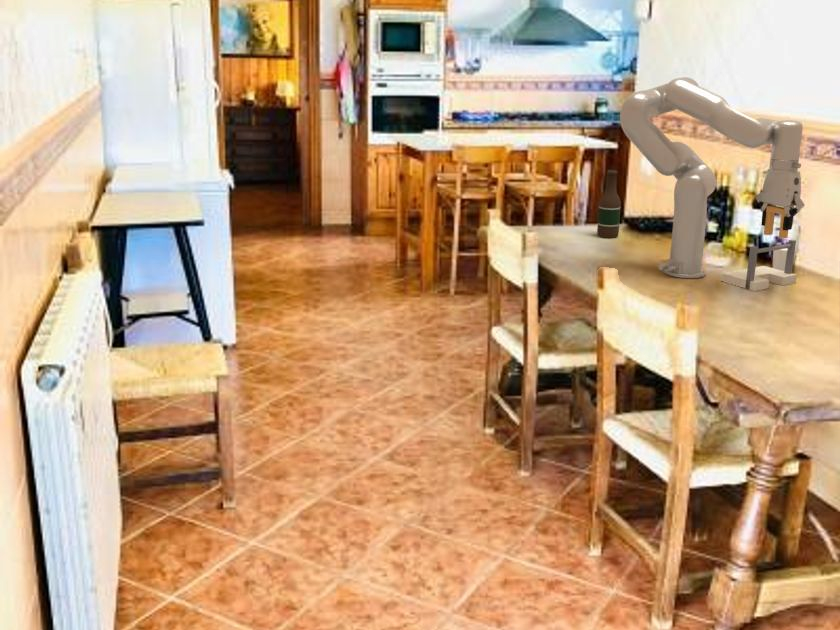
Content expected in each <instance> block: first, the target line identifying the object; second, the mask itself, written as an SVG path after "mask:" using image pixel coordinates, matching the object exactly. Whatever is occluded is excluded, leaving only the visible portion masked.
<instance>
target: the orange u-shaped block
mask: <svg viewBox="0 0 840 630" xmlns="http://www.w3.org/2000/svg"><path fill="white" fill-rule="evenodd" d="M775 214H777V215H780V221H779V222H780V223H779V231H778V239H787V238H788V237H789V230H783V221H784V216H786V213H785V209H784V207H783V206H777V205H770V206H767V209H766V220H765V226H763V227H764V228H763V235H766V236H771V235H772V236H773V233H774V227H775V226H774V225H775Z"/></svg>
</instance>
